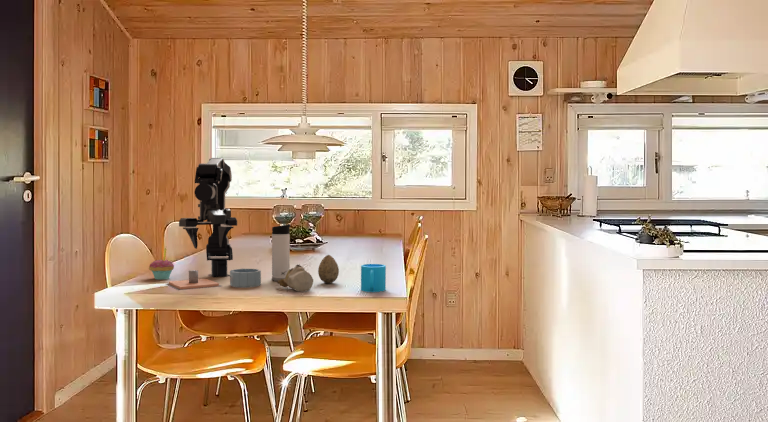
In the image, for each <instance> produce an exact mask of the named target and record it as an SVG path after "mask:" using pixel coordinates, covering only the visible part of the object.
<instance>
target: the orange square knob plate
mask: <svg viewBox="0 0 768 422" xmlns="http://www.w3.org/2000/svg"><path fill="white" fill-rule="evenodd" d="M168 283H169V284H170V285H172V286H174V287H176V288H178V289H187V290H192V289H191V288H199V289H203V288H202V287H210V288H215V287H214V286H219V285H220V283H219V282H216V281H213V280H211V279H208V278H199V270H195V269H191V270H188V279H184V280H172V281H168Z"/></svg>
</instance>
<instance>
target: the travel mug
mask: <svg viewBox="0 0 768 422" xmlns="http://www.w3.org/2000/svg"><path fill="white" fill-rule="evenodd" d="M290 227H291V224H286V225H277V226H272V227H271V280H272V281H273V280H274V281H273V282H277V280H281V279H285V277H286V275H287V272H288V271H289V270H290V269H291V267H290V265H291V264H290V263H291V260H290V259H291V257H290V250H291V247H290V246H291V245H290V241H291V239H290V237H291V236H290Z"/></svg>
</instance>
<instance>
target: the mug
mask: <svg viewBox="0 0 768 422" xmlns="http://www.w3.org/2000/svg"><path fill="white" fill-rule="evenodd" d="M386 266H387V265H386V264H383V263H382V264H381V263H366V264H365V263H364V264H361V266H360V291H362V292H365V293H379V292H380V291H382V292H386V289H387V287H386V283H387V281H386V280H387V279H386V277H387V276H386V274H387V270H386V269H387V267H386ZM380 293H381V292H380Z"/></svg>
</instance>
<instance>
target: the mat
mask: <svg viewBox="0 0 768 422" xmlns="http://www.w3.org/2000/svg"><path fill="white" fill-rule="evenodd" d="M165 285H166V286H169V287H171V288H173V289H175V290H177V291H186V290H188V289H178V288H176V287H174V286H172V285H170V284H169V282H167V283H165ZM217 287H218V288H219V287H221V288H222V285H221V284H219V286H214V287H213V288H217ZM209 288H211V287H202V288H201V289H209ZM196 289H200V288H191V289H190V290H196Z"/></svg>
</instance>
